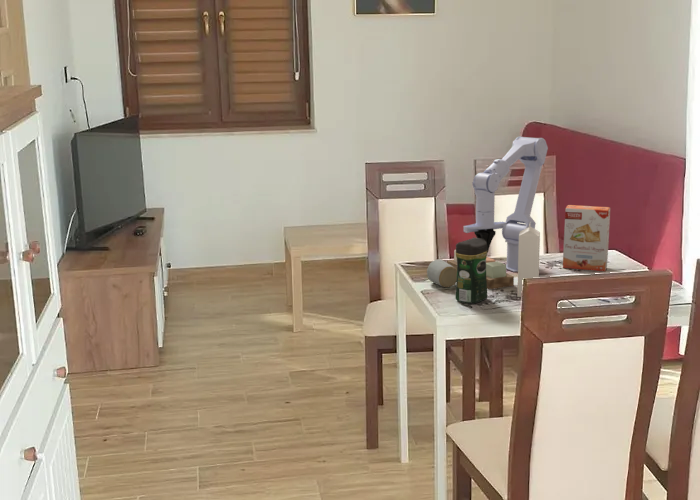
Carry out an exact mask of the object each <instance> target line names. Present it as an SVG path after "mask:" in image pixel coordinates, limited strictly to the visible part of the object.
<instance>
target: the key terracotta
mask: <svg viewBox="0 0 700 500" xmlns="http://www.w3.org/2000/svg"><path fill="white" fill-rule="evenodd" d="M488 262H496V259H493V258H491V257H488V256H487V257H486V263H488Z"/></svg>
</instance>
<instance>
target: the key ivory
mask: <svg viewBox="0 0 700 500" xmlns="http://www.w3.org/2000/svg"><path fill="white" fill-rule="evenodd" d="M453 256H454V257H453V260H454V261H455V262H457V257H456V249H454V251H453Z"/></svg>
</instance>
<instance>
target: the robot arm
mask: <svg viewBox="0 0 700 500" xmlns="http://www.w3.org/2000/svg"><path fill="white" fill-rule="evenodd" d="M548 150H549V146H548V144H547V141H546V139H544V138H543V137H526V136H520V135H519V136H517V137H516V138H515V139H514V140H512V145H511V148H510V149H509V150H508V151H507V152H506V154H505V155H504V156H503V157H502V158H498V159H494V160H493V162H492V163H491V164H490V165H489V166H488V167H487V168H486V169H485V170H484V171H483V172H478V173H477V174H475V176H474V177H473V181H472V182H471V183H472V188H473V190H474V195H475V196H476V198H475V199H476V201H475V203H476V204H475V208H476V209H475V223H472V224H468V225H463V233H466V234H468V233H469V234H470V233H474V235H475V236H476V237H475V238H480V239H484V240H485V241H486V243H487V254H488V253H489V251H490V250H489V249H490V246H491V243H492V240H493V239H494V237H495V236H496V233H497V232H496V230H500V229H501V235H502V238H503V239H504V240H505V243H507V244H506V270H508V271H510V272H513V273H514V272H515V273H518V250H519V234H520V231H522V230H524V229H526V228H528V227H529V224H530V226H531V227H532V228H534V229H535V230H536V224H537V223H536V221H535V220H534V219H533V217H532V216H531V213H532V209H533V205H534V201H535V197H536V193H537V188H538V184H539V181H540V177H541V172H542V169H543V165H544V164H545V162H546V157H547V153H548ZM518 160H519V161H520V163H522V164H523V165H524V172H523V176H522V180H521V184H520V188H519V192H518V196H517V199H516V200H517V201H516V204H515V209H514V212H513V213H511V214H509V215H508V216H507V217H506V220H505V221H495V202H496V201H495V199H496V198H495V197H496V195H495V192H496V191H497V190H498V188H499V186H500V184H501V182H502V180H503V179H504V178H505V177H506V176H507V175H508V174H509V172H510V170H511V169H510V167H512V165H514V164H515V163H516V162H517V161H518Z"/></svg>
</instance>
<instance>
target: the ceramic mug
mask: <svg viewBox="0 0 700 500" xmlns="http://www.w3.org/2000/svg"><path fill="white" fill-rule="evenodd" d="M426 276H427V279H428V280H429V281H430V282H431V283H434V284H436V285H439V286H440V287H442V288H445V289H446V288H451V287H453V286H455V285H456V280H457V270H456V269H455V268H454V267H453V266H452V265H450V264H448V263H447V261H445V260H443V259H434V260H432V261H431V262H430V263H429V264H428V267H427V269H426Z"/></svg>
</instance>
